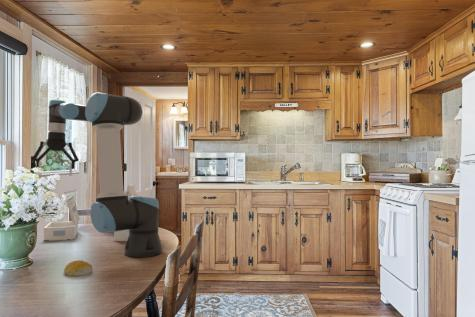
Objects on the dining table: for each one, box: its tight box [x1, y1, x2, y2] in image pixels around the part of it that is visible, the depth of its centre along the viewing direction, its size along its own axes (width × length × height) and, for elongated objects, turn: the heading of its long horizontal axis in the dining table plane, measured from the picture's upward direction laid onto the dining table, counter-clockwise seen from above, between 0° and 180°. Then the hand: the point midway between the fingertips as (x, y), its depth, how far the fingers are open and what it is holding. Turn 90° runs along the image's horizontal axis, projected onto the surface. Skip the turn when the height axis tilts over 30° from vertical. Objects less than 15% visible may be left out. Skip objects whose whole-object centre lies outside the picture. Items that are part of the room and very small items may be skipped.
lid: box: [65, 195, 80, 226], centre depth 177 cm, size 16×13×1 cm
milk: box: [113, 184, 143, 242], centre depth 174 cm, size 12×12×26 cm
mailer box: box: [43, 220, 79, 241], centre depth 176 cm, size 16×13×6 cm
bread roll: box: [63, 259, 93, 277], centre depth 120 cm, size 8×9×4 cm
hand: (55, 175), depth 175 cm, fingers open, 13 cm apart
